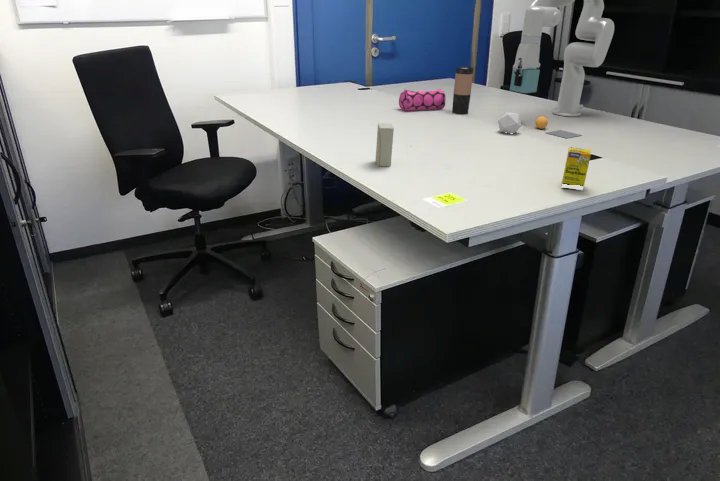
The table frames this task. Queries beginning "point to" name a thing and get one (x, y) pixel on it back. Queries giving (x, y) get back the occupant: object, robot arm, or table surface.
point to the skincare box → (384, 144)
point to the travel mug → (462, 90)
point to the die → (509, 122)
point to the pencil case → (422, 100)
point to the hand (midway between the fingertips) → (523, 84)
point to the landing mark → (563, 134)
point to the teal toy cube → (526, 81)
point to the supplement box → (576, 166)
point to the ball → (541, 122)
